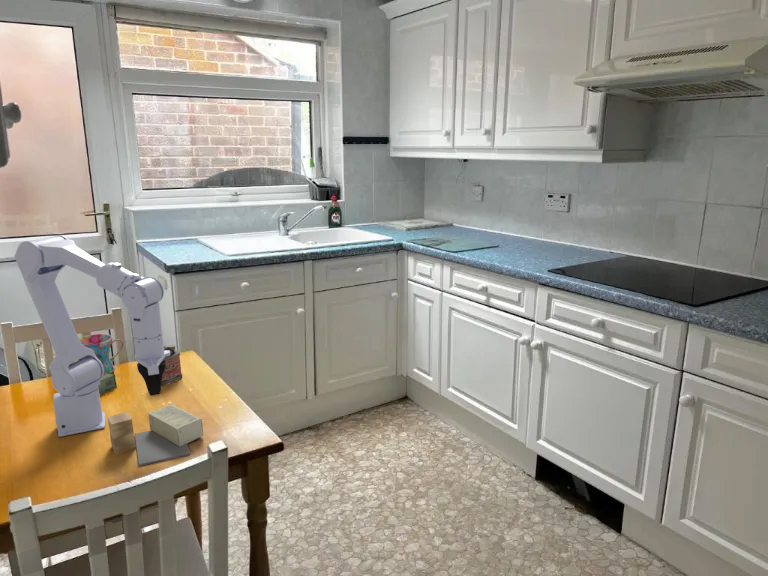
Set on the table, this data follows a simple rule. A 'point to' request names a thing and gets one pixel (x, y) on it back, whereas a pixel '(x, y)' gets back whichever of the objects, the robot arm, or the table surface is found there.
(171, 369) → the reddish brown pouch
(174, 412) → the skincare box
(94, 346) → the mug
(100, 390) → the medication box
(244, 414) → the table surface
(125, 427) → the oak block
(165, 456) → the plate
